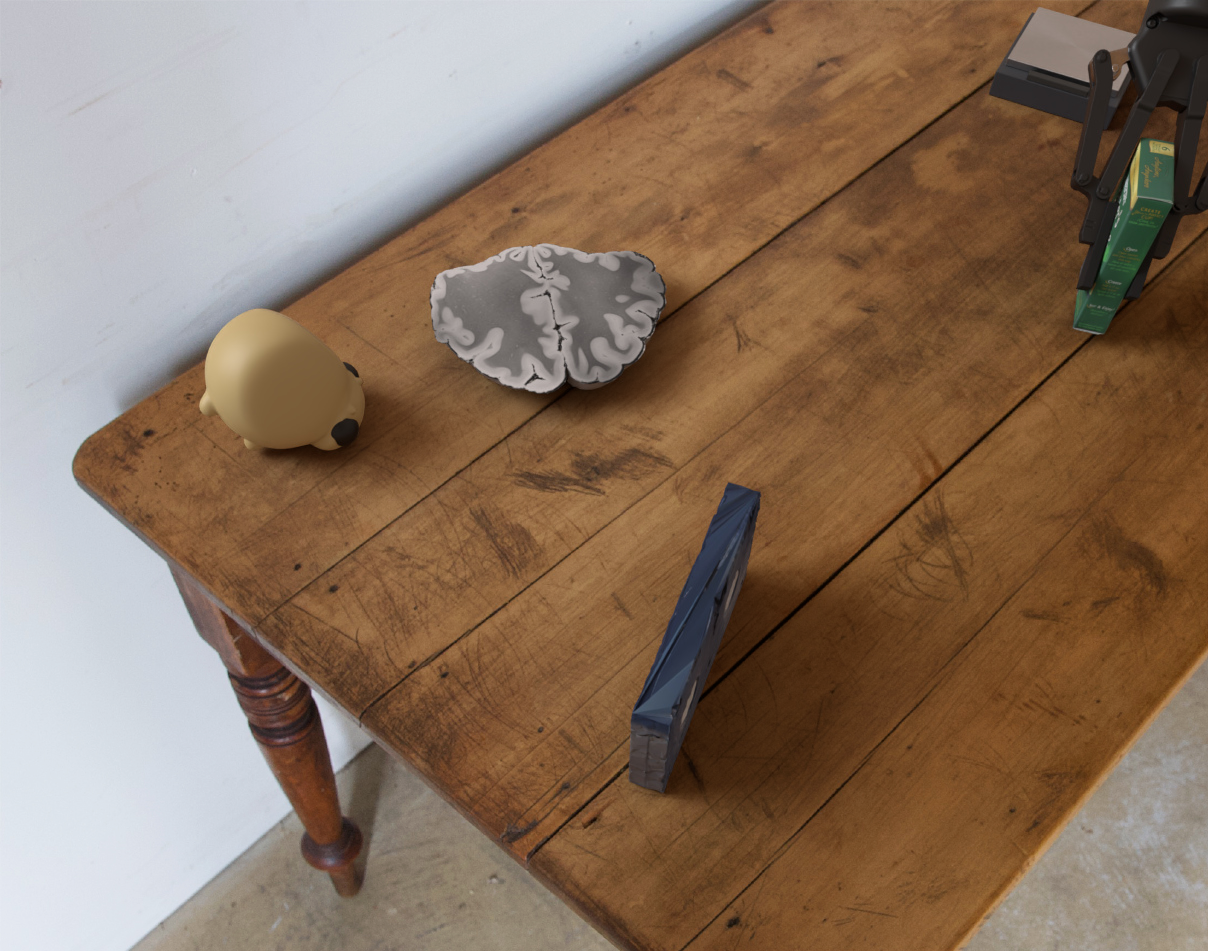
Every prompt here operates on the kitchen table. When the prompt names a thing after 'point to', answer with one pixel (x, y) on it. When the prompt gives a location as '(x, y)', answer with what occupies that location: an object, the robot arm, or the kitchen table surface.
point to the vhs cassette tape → (692, 640)
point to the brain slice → (549, 315)
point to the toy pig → (281, 385)
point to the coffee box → (1129, 232)
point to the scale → (1059, 65)
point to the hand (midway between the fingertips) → (1107, 292)
